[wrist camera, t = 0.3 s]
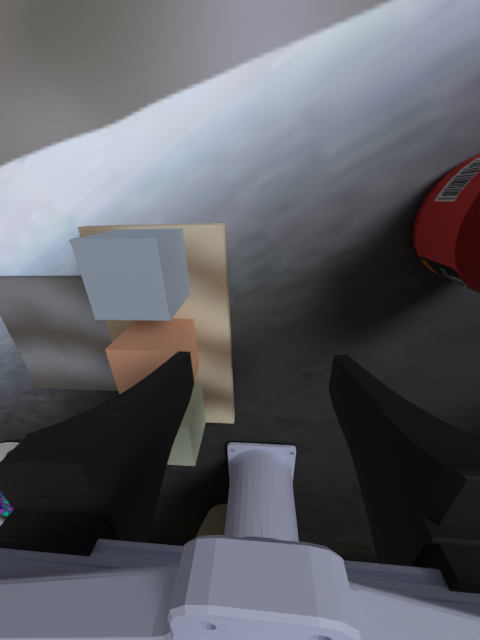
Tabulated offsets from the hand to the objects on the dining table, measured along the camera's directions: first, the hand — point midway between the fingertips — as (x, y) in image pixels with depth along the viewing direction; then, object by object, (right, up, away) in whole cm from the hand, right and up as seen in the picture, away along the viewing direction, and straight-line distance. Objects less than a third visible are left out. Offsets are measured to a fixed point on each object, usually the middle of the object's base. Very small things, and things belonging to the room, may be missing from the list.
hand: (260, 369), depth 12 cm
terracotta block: (-7, 0, +10) cm, 12 cm away
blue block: (-8, +7, +7) cm, 12 cm away
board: (-12, +1, +11) cm, 16 cm away
